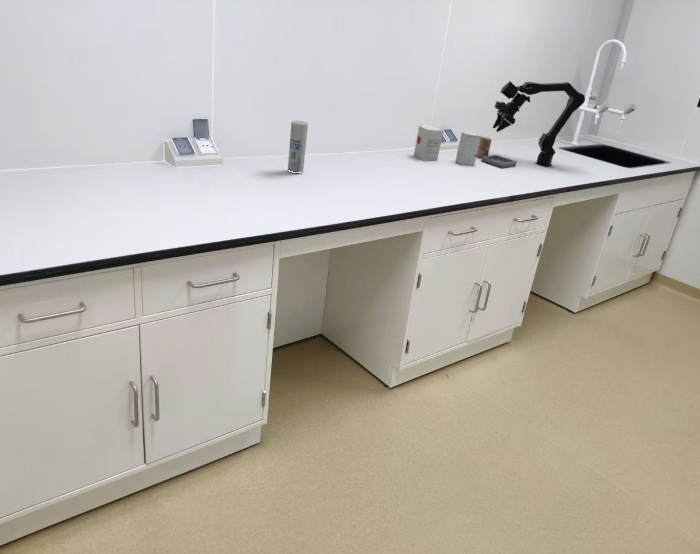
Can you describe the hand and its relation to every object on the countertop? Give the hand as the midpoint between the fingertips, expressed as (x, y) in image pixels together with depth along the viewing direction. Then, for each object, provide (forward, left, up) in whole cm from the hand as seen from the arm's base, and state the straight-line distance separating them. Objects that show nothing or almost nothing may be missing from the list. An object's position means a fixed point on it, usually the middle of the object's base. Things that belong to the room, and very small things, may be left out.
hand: (495, 129), depth 302 cm
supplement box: (+10, +40, -15) cm, 44 cm away
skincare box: (-4, +26, -15) cm, 30 cm away
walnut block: (+1, +5, -14) cm, 15 cm away
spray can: (+12, +120, -15) cm, 122 cm away
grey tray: (-11, +7, -14) cm, 19 cm away
